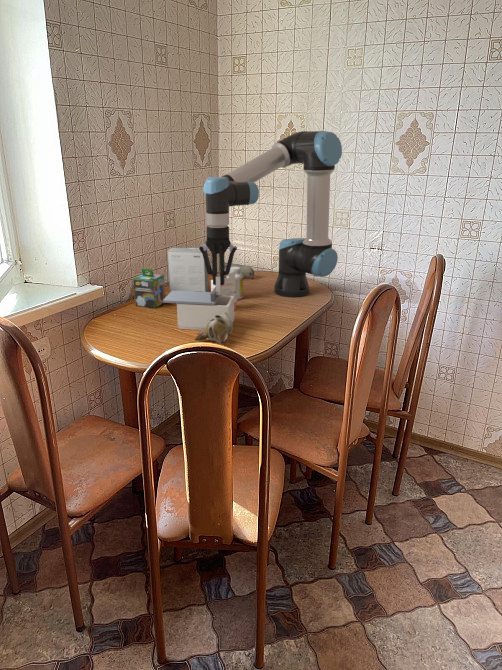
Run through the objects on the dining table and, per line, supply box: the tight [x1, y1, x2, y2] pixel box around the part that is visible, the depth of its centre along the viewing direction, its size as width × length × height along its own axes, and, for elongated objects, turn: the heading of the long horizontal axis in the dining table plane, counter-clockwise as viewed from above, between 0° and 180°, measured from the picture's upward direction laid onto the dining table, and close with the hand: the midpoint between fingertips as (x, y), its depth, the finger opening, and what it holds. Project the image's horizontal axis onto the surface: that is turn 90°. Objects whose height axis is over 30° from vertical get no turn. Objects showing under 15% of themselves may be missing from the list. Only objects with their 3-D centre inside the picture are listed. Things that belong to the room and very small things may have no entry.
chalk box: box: [132, 267, 167, 309], centre depth 200 cm, size 9×9×15 cm
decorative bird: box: [218, 260, 255, 280], centre depth 239 cm, size 6×17×8 cm, turn 80°
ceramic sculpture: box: [194, 312, 234, 345], centre depth 167 cm, size 11×9×15 cm
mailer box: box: [176, 296, 235, 331], centre depth 180 cm, size 18×12×9 cm, turn 83°
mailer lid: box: [162, 287, 220, 305], centre depth 179 cm, size 18×12×4 cm, turn 83°
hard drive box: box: [166, 247, 210, 293], centre depth 209 cm, size 16×8×20 cm, turn 84°
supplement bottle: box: [226, 267, 244, 301], centre depth 209 cm, size 7×7×13 cm
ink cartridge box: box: [210, 273, 237, 310], centre depth 195 cm, size 9×5×15 cm, turn 117°
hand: (218, 293), depth 177 cm, fingers closed
